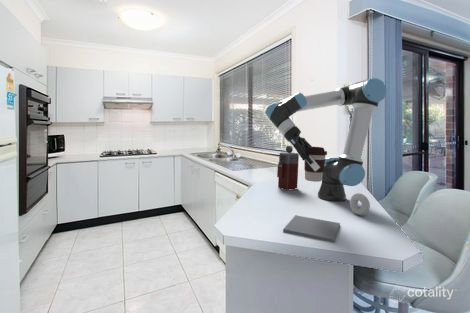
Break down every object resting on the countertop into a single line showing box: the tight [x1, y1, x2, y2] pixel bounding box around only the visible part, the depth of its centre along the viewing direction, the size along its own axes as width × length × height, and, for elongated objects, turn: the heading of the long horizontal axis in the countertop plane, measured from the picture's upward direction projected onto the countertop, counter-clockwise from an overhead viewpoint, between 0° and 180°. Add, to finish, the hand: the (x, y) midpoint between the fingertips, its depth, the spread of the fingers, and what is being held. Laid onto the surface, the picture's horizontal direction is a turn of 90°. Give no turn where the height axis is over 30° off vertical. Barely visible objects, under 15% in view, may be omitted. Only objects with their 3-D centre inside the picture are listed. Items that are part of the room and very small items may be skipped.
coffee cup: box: [303, 146, 328, 183], centre depth 114 cm, size 10×10×15 cm
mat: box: [282, 215, 341, 243], centre depth 99 cm, size 18×18×1 cm
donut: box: [349, 193, 371, 217], centre depth 116 cm, size 10×4×10 cm, turn 21°
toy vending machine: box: [276, 145, 300, 191], centre depth 166 cm, size 9×11×28 cm
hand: (321, 168), depth 112 cm, fingers closed on coffee cup, 10 cm apart
